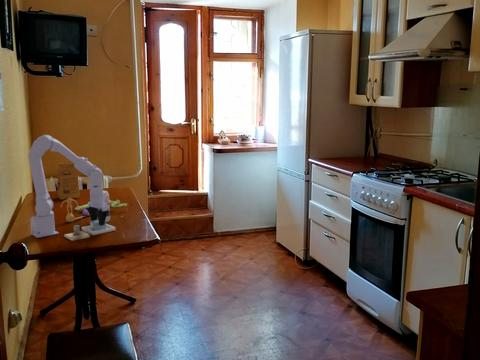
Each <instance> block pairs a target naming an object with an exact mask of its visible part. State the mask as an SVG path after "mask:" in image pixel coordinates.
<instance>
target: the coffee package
mask: <svg viewBox="0 0 480 360" xmlns="http://www.w3.org/2000/svg"><path fill="white" fill-rule="evenodd" d="M57 171H58V173H57V185H56V186H57V187H56V189H57V190H56V191H57V196H58V199H59V200H63V201H64V200H67V199H68V198H69V197H70V198H71V199H73V200H75V199H77V198H80V185H79V174H78V169H77V168H75V167H74V163H73V162H68V163H67V162H66V163H65V162H64V163H63V162H58V169H57Z"/></svg>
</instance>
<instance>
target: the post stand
mask: <svg viewBox="0 0 480 360" xmlns="http://www.w3.org/2000/svg"><path fill="white" fill-rule="evenodd" d="M63 237H64V238H65V239H68V240H70V241H71V242H72V241H78V240H82V239H87V238H91V234H89V233H87V232H84V231H82V230H81V229H80V225H78V224H75V225H73V232H70V233H65V234H64V235H63Z"/></svg>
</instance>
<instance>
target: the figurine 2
mask: <svg viewBox="0 0 480 360" xmlns="http://www.w3.org/2000/svg"><path fill="white" fill-rule="evenodd" d="M109 205H110V206H111V207H112V208H120V207H127V206H128V203H121V201H120V200H119V199H116V200H115V201H114V200H111V199H109ZM78 206H79V205H78ZM78 206H76V207H75V208H74V210H75V211H79V210H82V215H84V216H90V215H89V212H88V211H87V209H86V208H87V207H90V206H88V203H87V204H83V205H80V206H79V207H78Z"/></svg>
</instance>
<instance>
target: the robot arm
mask: <svg viewBox="0 0 480 360" xmlns="http://www.w3.org/2000/svg"><path fill="white" fill-rule="evenodd" d="M49 150H50V152H55V153H56V152H58V153H60V154H61V155H63V156H64V157H65V158H67V159H68V160H69V161H71V163H74V167H75V168H77V171H79V172H81V173H82V174H83V175H85V176H87V177H88V180H89V200H90V201H88V202H87V204H88V206H90V207H87V208H86V209H87V211H88V212H89V215H88V216H89V217H90V221H94V220H97V216H98V221H99V225H100V226H102V225H104V224H105V220H106V216H107V214H108V212H109V210H107V206H105V205H106V203H104V201H103V190H104V186H103V171H102V170H101V168H100V167H99V166H98V167H97V165H96V164H93V163H92V162H90V161H88V160H89V159H88V158H87V157H83V156H77V155H76V154H75V153H74V152H73V151H72V150H70V149H69V148H68V147H67V146H66V145H64V144H63V143H62V142H61V141H59V140H57V139H56V138H54V137H53V136H51V135H50V134H43V135H41V136H38V137H37V139H35V140H34V141H33V143H32V146H31V148H30V150H29V151H28V154H27V156H28V162H29V167H30V171H31V175H32V181H33V186H34V187H33V188H34V191H35V207H34V210H35V213H36V214H35V215H34V216H31V217H30V222H29V223H30V235H31V236H33V237H35V238H37V239H38V238H43V237H48V236H53V235H58V234H59V232H58V231H57V230H56V227H55V226H56V225H55V224H56V223H55V213H54V211H53V208H54V204H55V203H54V201H53V200H52V199H51V196H50V194H49V191H48V187H47V182H46V176H45V172H44V166H43V161H42V157H43V156H44V154H45V153H46V152H47V151H49ZM98 209H100V210H98Z"/></svg>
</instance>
